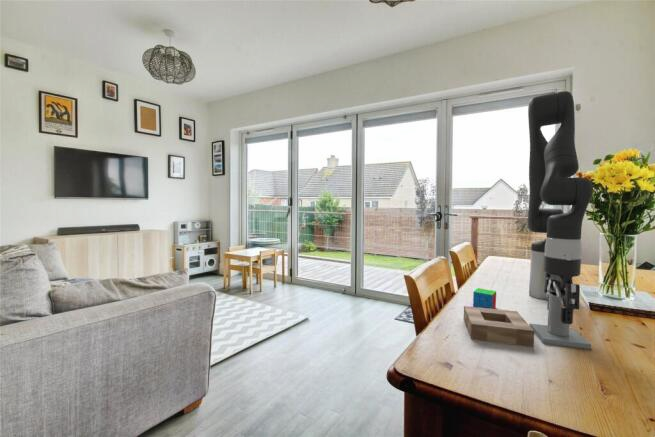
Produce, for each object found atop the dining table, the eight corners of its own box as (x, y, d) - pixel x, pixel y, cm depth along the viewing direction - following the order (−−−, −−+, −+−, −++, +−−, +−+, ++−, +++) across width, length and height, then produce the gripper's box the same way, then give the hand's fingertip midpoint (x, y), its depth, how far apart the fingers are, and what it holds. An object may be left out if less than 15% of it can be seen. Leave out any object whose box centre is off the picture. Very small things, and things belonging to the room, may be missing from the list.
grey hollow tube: (572, 337, 77) (574, 297, 77) (552, 335, 78) (554, 296, 78) (563, 330, 82) (564, 292, 81) (544, 328, 83) (545, 291, 82)
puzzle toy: (492, 312, 98) (492, 295, 98) (472, 308, 102) (473, 291, 102) (495, 308, 103) (496, 291, 102) (477, 304, 106) (477, 287, 106)
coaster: (529, 327, 86) (529, 323, 86) (571, 332, 83) (571, 328, 83) (543, 343, 77) (543, 338, 77) (591, 349, 74) (591, 344, 74)
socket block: (463, 319, 92) (464, 306, 92) (516, 325, 88) (516, 311, 88) (470, 338, 79) (471, 323, 79) (533, 346, 75) (534, 330, 75)
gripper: (535, 250, 87) (532, 306, 88) (557, 259, 73) (553, 326, 74) (566, 252, 85) (563, 309, 86) (595, 261, 71) (591, 330, 72)
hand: (559, 317), depth 80 cm, fingers open, 8 cm apart
